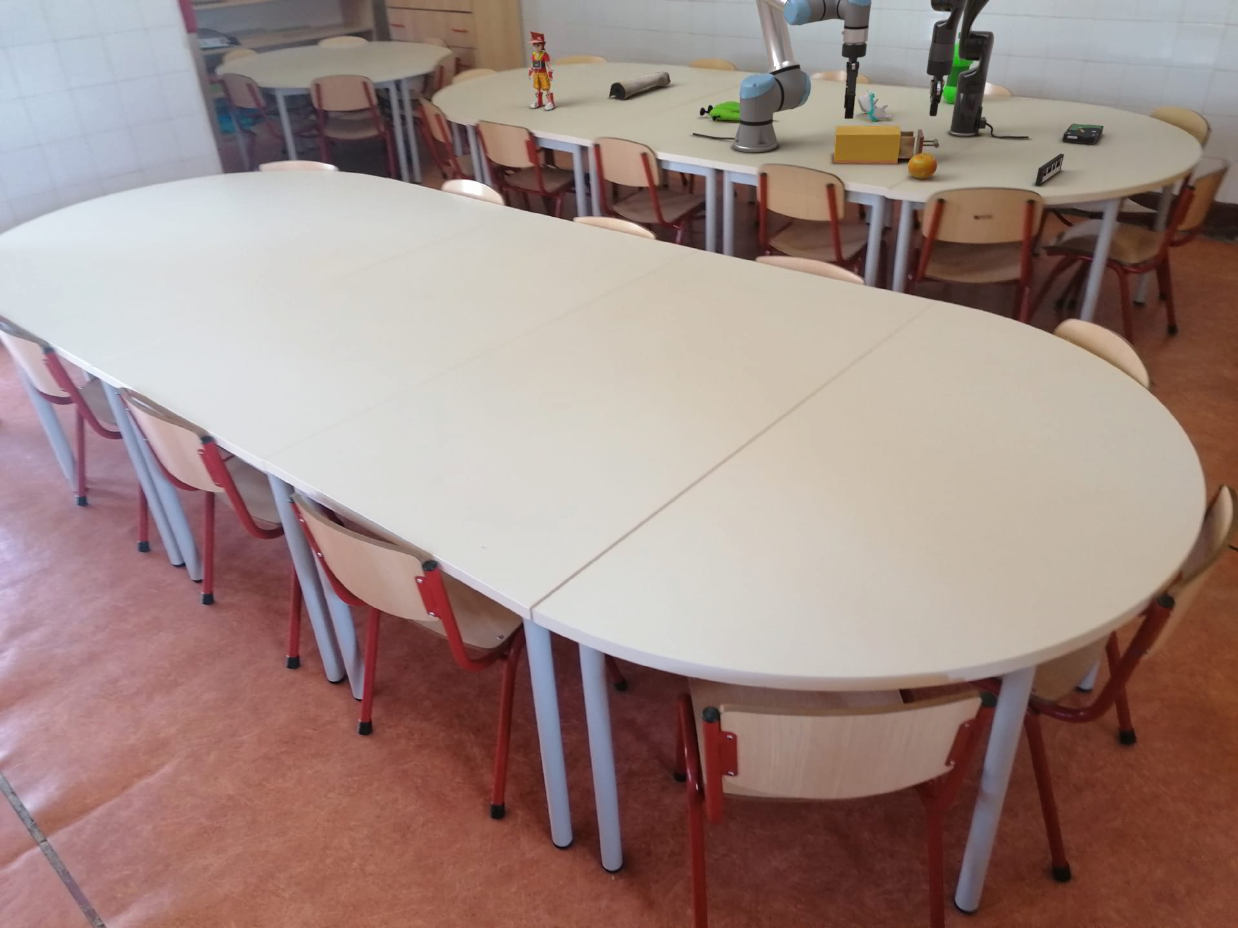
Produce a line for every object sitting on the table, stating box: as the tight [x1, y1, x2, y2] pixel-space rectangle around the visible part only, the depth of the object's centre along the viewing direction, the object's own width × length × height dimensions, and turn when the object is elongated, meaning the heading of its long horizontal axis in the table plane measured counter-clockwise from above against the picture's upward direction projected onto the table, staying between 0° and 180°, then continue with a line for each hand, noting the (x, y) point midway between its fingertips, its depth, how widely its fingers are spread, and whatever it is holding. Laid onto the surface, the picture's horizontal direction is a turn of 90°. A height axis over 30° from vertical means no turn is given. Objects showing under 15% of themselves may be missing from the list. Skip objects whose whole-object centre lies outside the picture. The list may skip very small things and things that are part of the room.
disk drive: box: [1061, 123, 1105, 145], centre depth 306 cm, size 10×3×15 cm
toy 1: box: [527, 31, 556, 111], centre depth 374 cm, size 12×9×30 cm
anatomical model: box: [857, 89, 892, 122], centre depth 341 cm, size 15×10×10 cm
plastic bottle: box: [942, 31, 974, 104], centre depth 348 cm, size 10×10×25 cm
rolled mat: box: [608, 71, 672, 101], centre depth 395 cm, size 30×9×10 cm
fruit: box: [907, 152, 938, 179], centre depth 279 cm, size 8×8×8 cm
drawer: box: [898, 128, 940, 159], centre depth 296 cm, size 24×9×7 cm, turn 79°
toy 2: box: [699, 100, 777, 122], centre depth 351 cm, size 28×5×30 cm
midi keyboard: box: [1035, 153, 1065, 186], centre depth 273 cm, size 18×1×5 cm, turn 138°
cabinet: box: [833, 125, 901, 165], centre depth 298 cm, size 20×11×9 cm, turn 79°
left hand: (848, 113), depth 293 cm, fingers open, 13 cm apart
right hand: (932, 115), depth 289 cm, fingers closed
